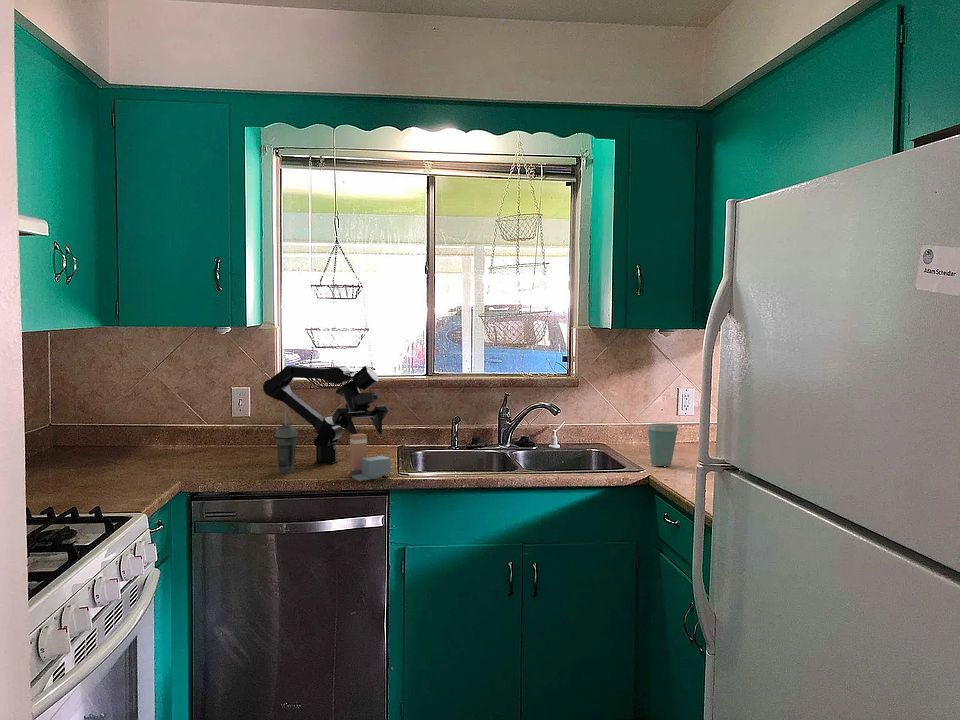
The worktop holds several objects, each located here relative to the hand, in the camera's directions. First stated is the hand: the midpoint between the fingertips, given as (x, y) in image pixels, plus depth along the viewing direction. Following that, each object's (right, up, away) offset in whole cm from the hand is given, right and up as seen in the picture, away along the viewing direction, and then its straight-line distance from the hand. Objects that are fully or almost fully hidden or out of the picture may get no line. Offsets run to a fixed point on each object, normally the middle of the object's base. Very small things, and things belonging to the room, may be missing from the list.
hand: (368, 434), depth 256 cm
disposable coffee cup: (+100, -12, +14) cm, 102 cm away
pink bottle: (-3, -12, -6) cm, 14 cm away
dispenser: (+2, -12, -10) cm, 16 cm away
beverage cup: (-26, -12, -3) cm, 29 cm away
